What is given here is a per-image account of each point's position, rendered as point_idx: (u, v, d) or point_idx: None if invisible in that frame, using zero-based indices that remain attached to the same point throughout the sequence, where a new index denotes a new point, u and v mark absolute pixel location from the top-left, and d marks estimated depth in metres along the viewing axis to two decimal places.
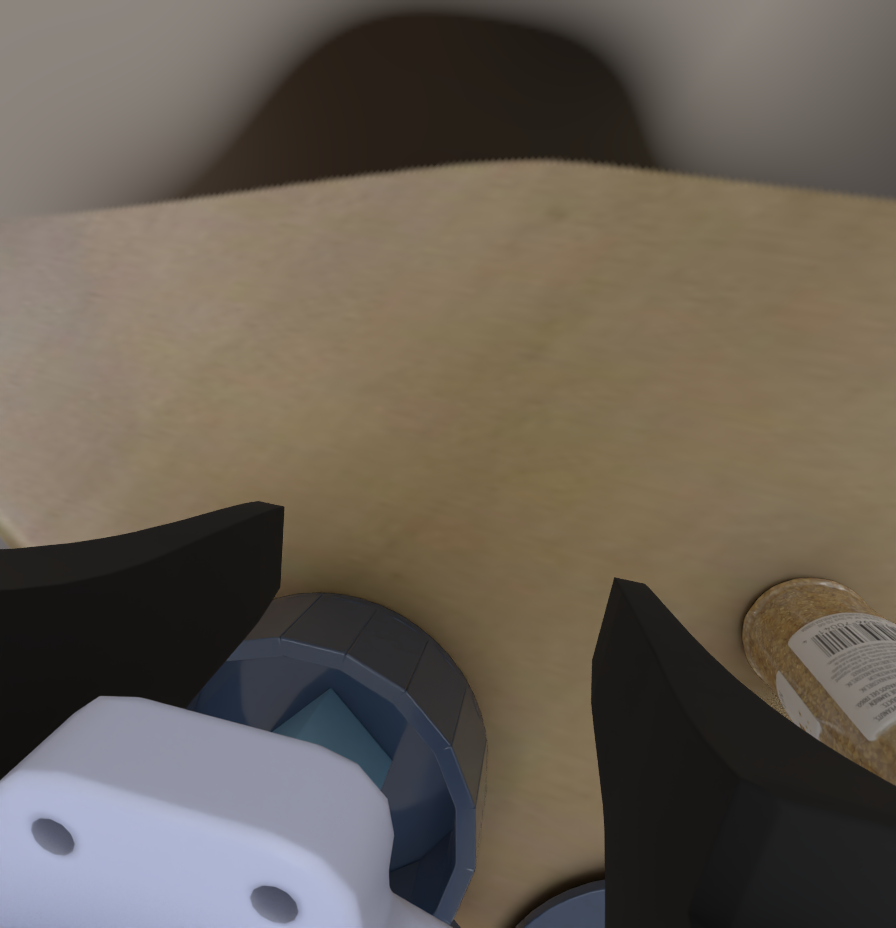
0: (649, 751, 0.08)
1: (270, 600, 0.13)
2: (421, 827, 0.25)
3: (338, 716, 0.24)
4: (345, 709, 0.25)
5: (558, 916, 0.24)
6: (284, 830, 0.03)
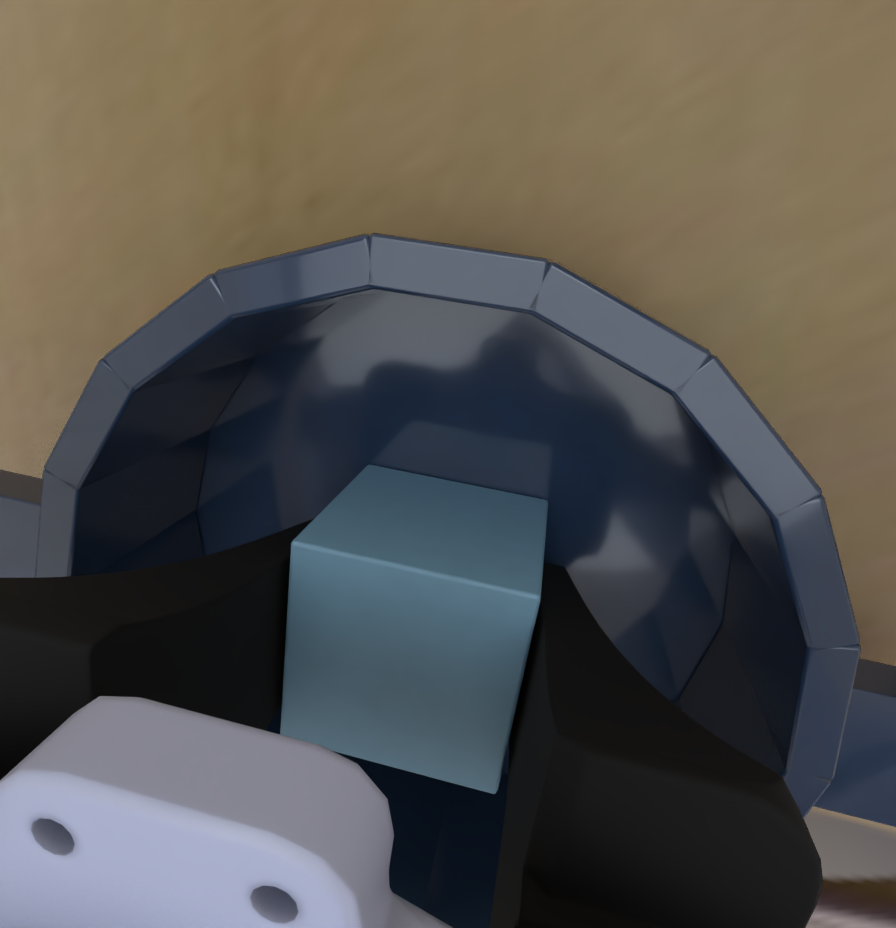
0: (531, 722, 0.08)
1: None
2: (682, 571, 0.13)
3: (398, 485, 0.12)
4: (410, 475, 0.13)
5: None
6: (284, 830, 0.03)
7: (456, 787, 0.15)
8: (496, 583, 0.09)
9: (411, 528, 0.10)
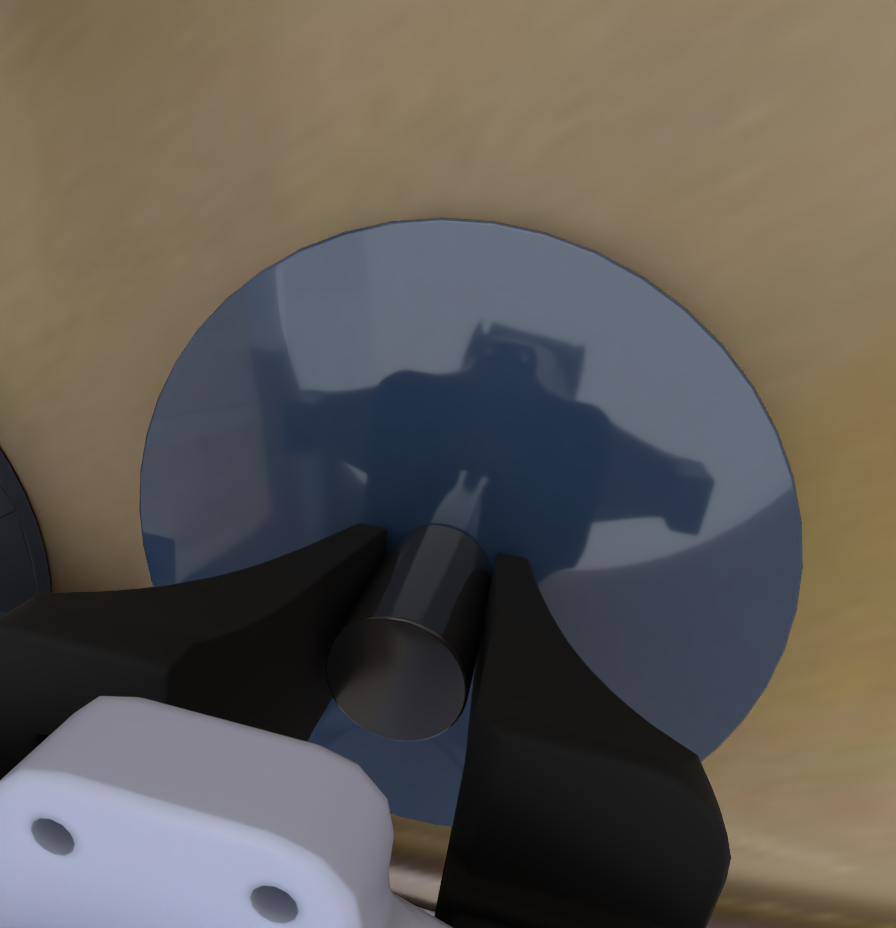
0: None
1: None
2: None
3: None
4: None
5: (156, 507, 0.14)
6: (283, 831, 0.03)
7: None
8: None
9: None
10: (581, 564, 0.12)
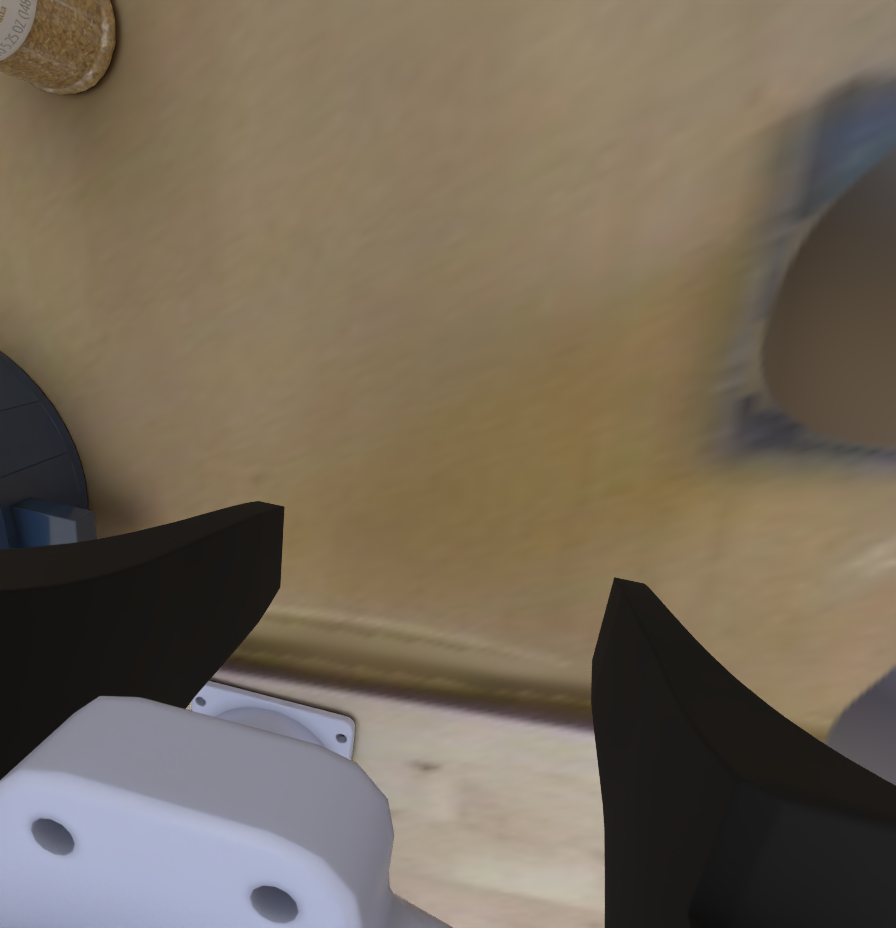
0: (649, 751, 0.08)
1: (270, 600, 0.13)
2: None
3: None
4: None
5: None
6: (284, 830, 0.03)
7: None
8: None
9: None
10: None
